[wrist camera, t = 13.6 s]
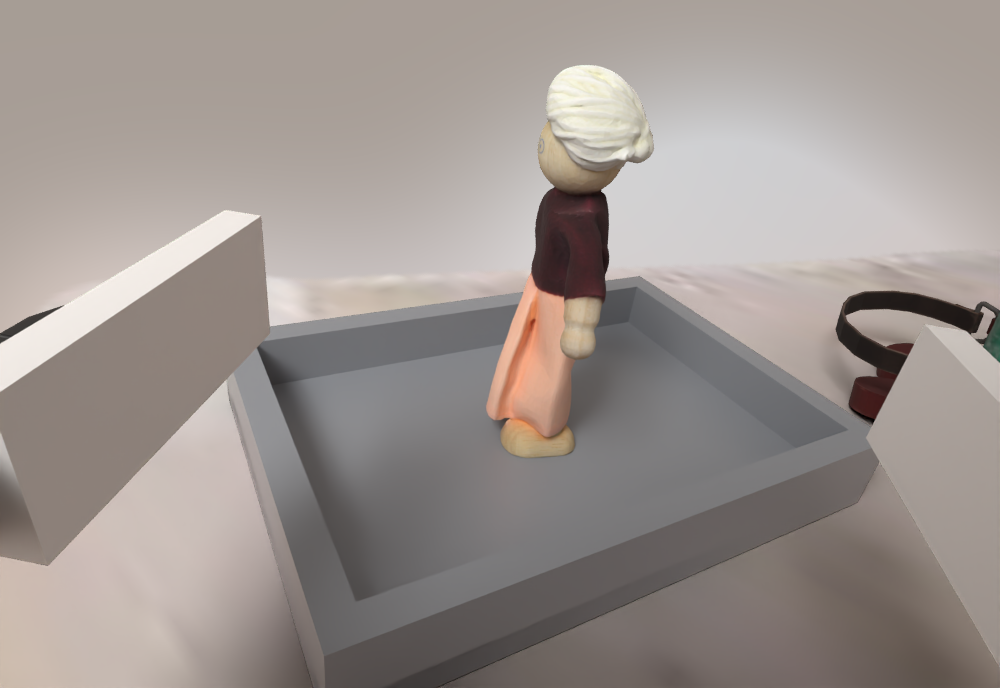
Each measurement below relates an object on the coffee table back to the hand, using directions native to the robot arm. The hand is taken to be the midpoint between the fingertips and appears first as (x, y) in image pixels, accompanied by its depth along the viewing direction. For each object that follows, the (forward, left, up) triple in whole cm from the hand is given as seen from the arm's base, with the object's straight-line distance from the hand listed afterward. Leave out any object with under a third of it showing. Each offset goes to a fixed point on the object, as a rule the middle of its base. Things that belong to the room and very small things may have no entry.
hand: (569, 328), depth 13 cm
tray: (-5, -6, -10) cm, 12 cm away
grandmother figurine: (-4, -6, -9) cm, 12 cm away
